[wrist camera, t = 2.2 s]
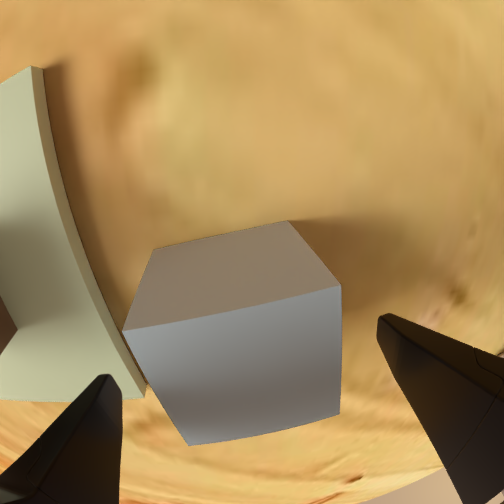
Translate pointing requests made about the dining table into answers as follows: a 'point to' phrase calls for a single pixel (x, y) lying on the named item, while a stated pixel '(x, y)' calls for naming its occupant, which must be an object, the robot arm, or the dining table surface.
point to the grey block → (239, 334)
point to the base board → (48, 267)
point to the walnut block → (5, 327)
